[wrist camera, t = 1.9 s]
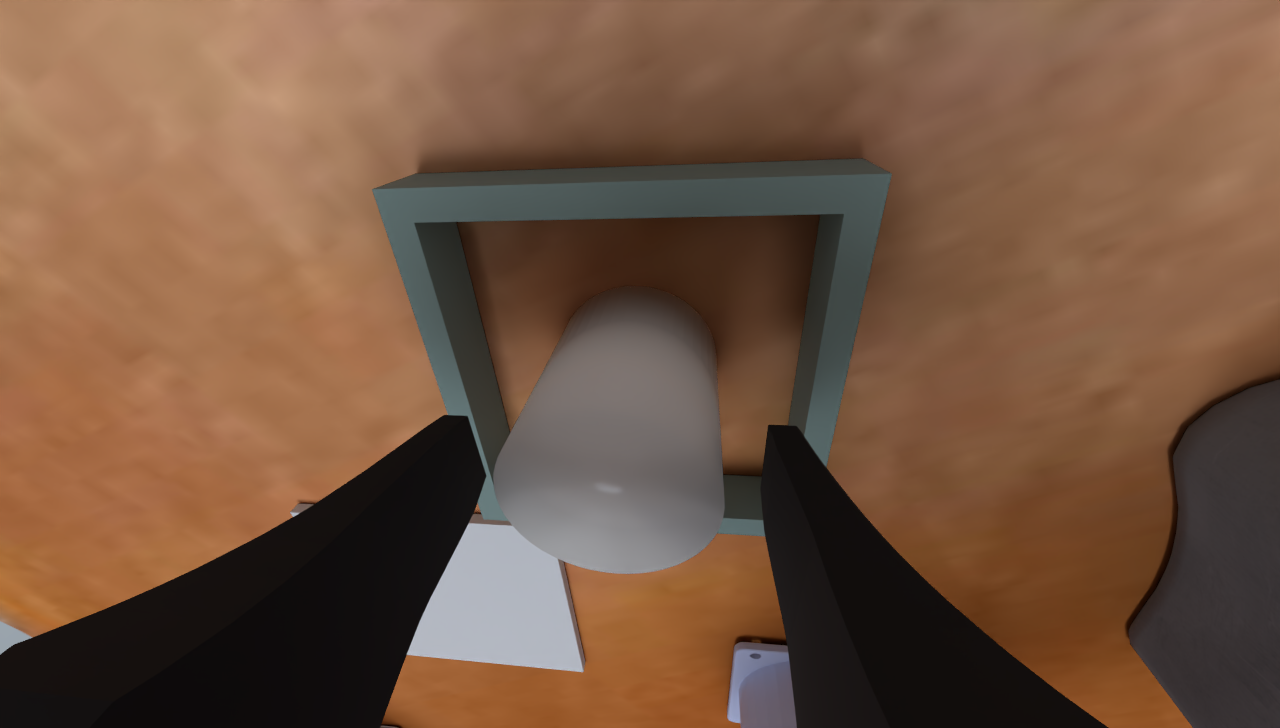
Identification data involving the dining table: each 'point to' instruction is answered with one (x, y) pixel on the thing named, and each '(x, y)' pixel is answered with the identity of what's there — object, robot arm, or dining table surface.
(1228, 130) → the dining table surface
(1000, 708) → the robot arm
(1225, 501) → the flask
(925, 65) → the dining table surface
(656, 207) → the holder
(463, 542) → the mat
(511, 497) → the jug
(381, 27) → the dining table surface
